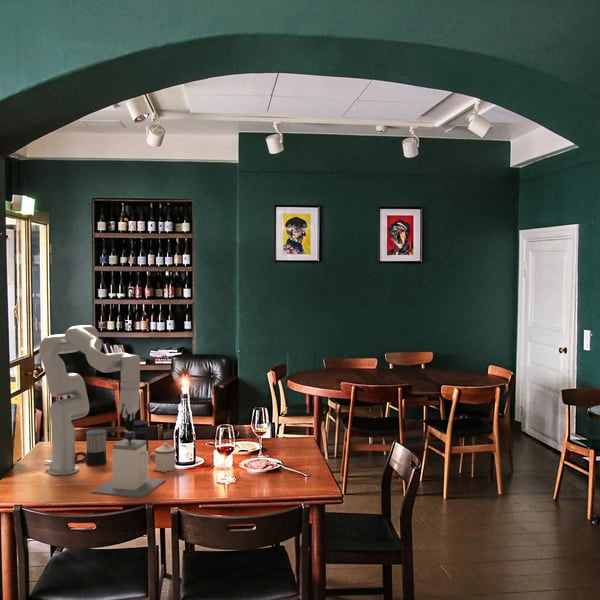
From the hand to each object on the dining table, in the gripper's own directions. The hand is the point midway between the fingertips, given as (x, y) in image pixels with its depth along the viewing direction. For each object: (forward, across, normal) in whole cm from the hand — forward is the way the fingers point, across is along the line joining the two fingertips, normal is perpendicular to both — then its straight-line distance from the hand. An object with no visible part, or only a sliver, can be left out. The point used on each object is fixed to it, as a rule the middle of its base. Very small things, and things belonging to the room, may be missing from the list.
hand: (129, 429), depth 267 cm
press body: (+23, 0, +2) cm, 23 cm away
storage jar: (+24, -48, -18) cm, 57 cm away
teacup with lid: (+24, -26, +4) cm, 35 cm away
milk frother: (+24, -27, -33) cm, 49 cm away
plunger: (+20, 0, 0) cm, 20 cm away
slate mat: (+24, 0, 0) cm, 24 cm away
